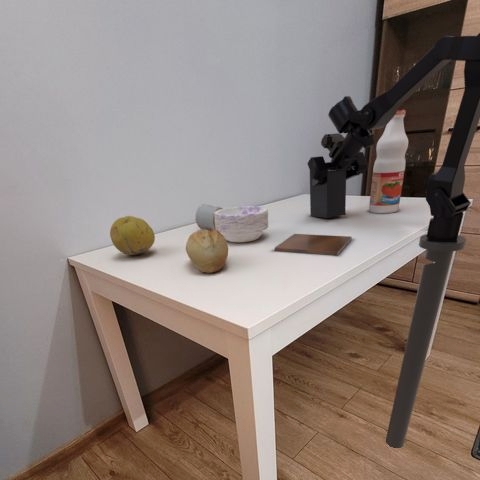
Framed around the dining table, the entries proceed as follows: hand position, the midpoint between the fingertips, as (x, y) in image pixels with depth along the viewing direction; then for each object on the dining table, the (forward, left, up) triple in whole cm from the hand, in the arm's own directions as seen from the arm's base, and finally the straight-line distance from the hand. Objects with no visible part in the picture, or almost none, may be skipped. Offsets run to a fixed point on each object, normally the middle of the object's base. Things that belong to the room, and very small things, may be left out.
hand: (325, 183), depth 111 cm
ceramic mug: (+29, +23, -10) cm, 39 cm away
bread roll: (+11, +55, -10) cm, 57 cm away
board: (-8, +34, -10) cm, 36 cm away
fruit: (+36, +53, -10) cm, 65 cm away
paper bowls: (+14, +32, -10) cm, 37 cm away
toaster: (-2, +1, -9) cm, 10 cm away
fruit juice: (-18, -10, -10) cm, 23 cm away
